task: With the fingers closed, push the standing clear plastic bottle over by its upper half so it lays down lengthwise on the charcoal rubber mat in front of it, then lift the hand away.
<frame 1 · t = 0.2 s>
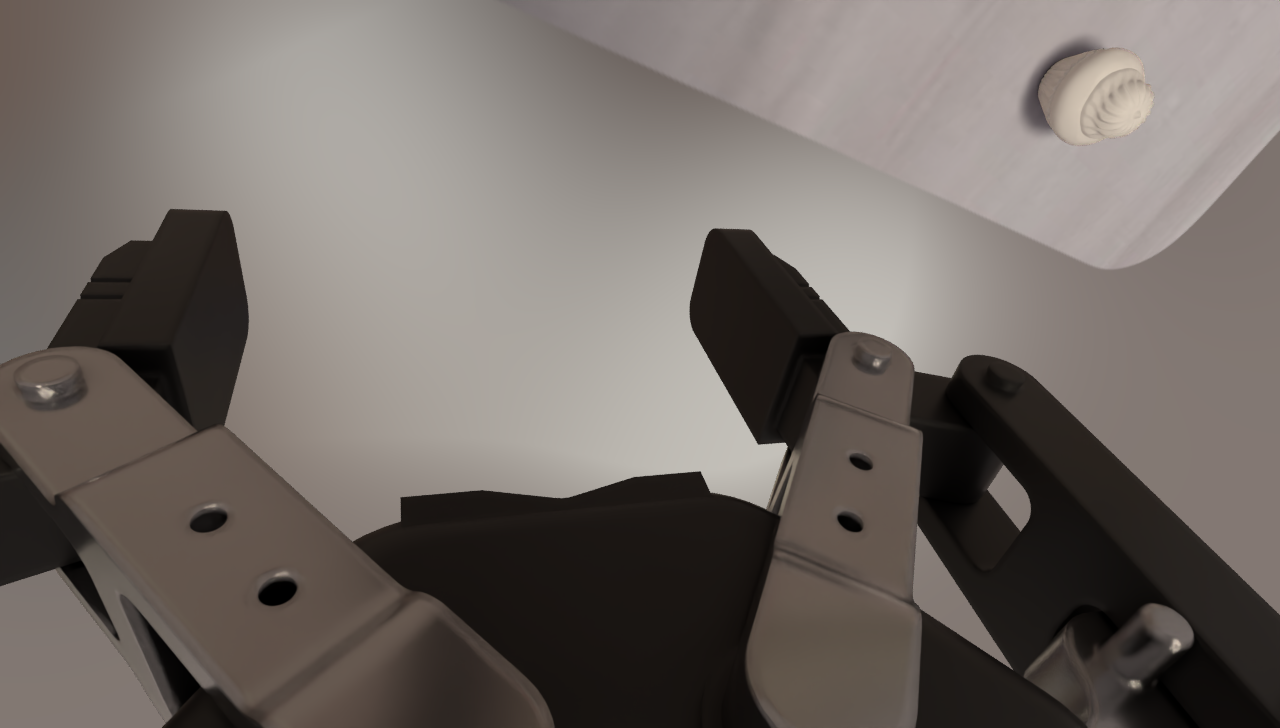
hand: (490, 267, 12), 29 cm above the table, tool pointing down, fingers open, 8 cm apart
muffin: (1056, 81, 48), on the table
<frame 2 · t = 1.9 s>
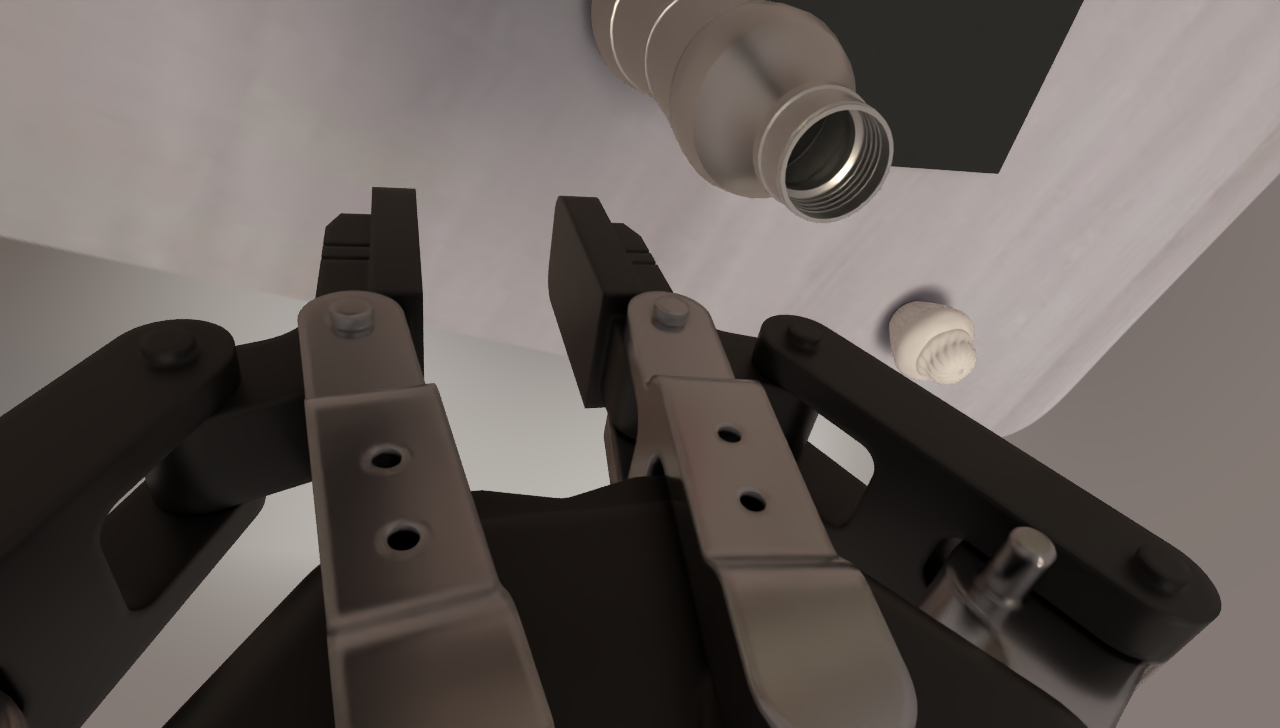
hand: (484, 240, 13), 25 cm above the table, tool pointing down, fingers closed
plastic bottle: (644, 8, 35), on the table
rubber mat: (900, 44, 40), on the table
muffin: (906, 316, 54), on the table
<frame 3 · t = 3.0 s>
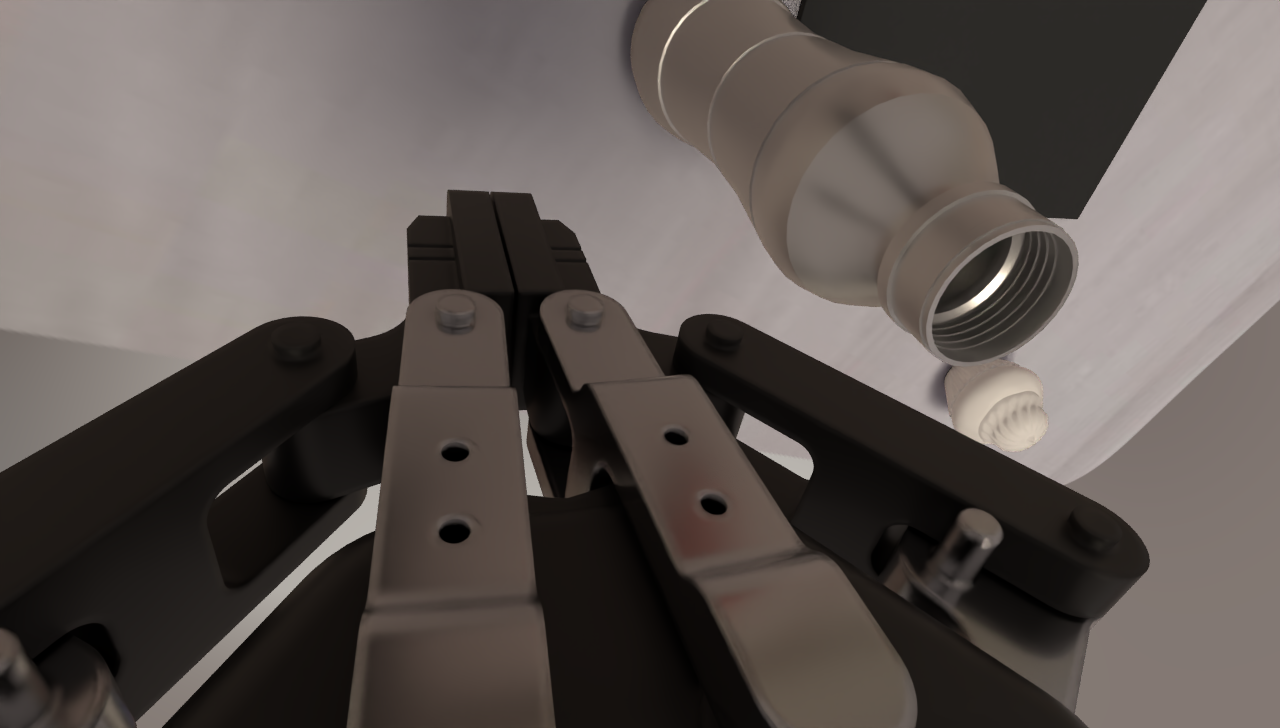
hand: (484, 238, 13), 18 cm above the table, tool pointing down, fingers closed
plastic bottle: (691, 42, 30), on the table
rubber mat: (982, 79, 35), on the table
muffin: (963, 370, 49), on the table
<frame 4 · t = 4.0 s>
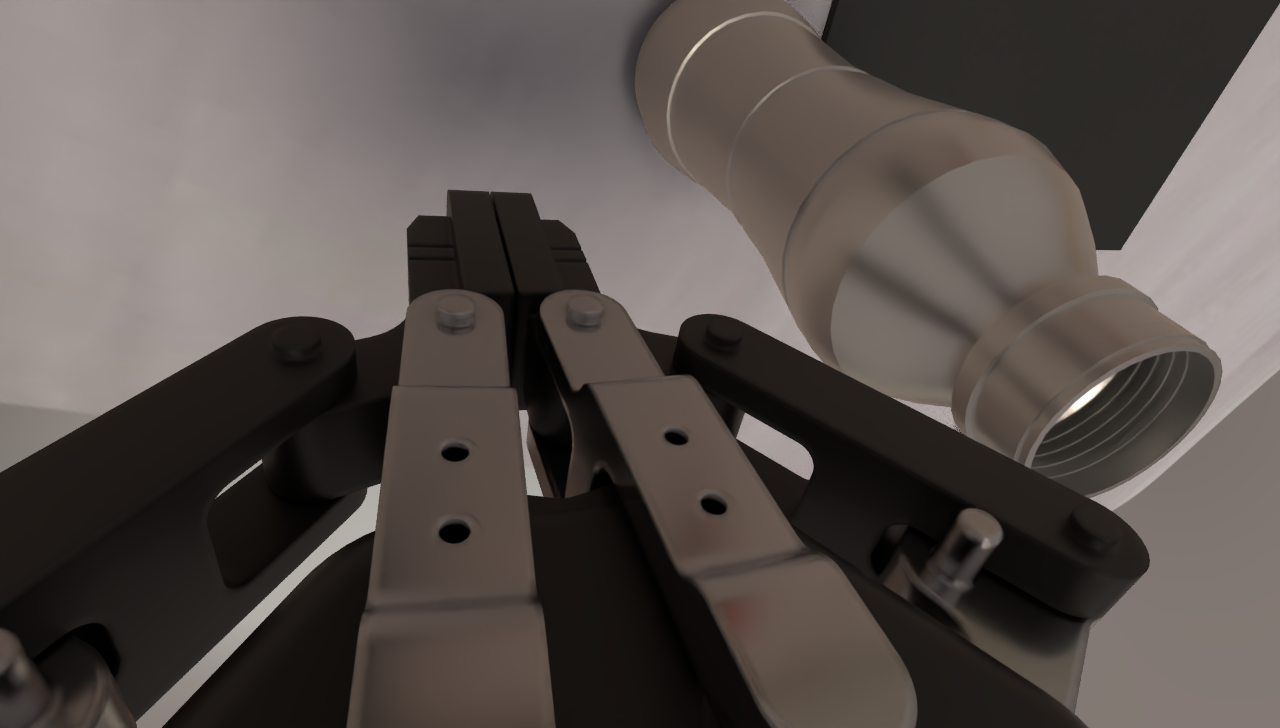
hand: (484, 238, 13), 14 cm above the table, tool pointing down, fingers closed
plastic bottle: (703, 67, 26), on the table
rubber mat: (1023, 103, 31), on the table
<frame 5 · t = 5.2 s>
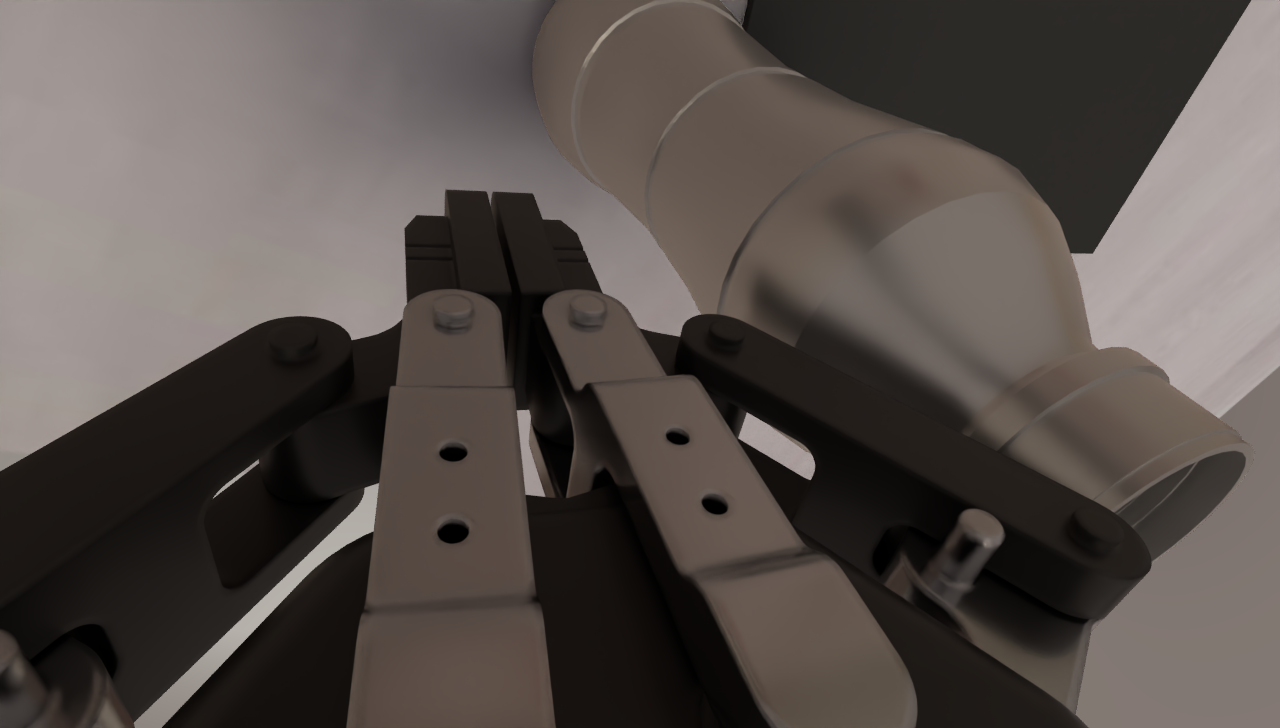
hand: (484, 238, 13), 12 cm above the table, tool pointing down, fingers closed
plastic bottle: (610, 57, 23), on the table, touching hand
rubber mat: (978, 94, 28), on the table
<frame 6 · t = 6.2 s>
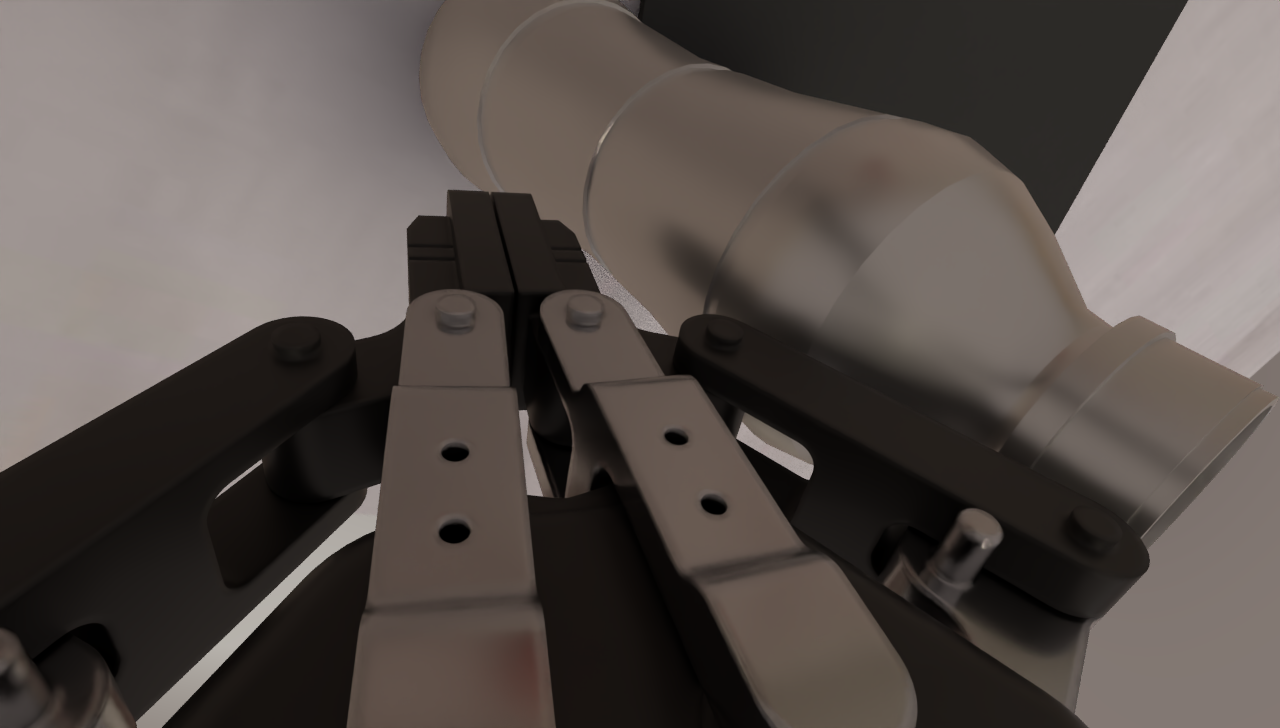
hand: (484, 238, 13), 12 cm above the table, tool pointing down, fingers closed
plastic bottle: (499, 68, 22), point 1 cm above the table
rubber mat: (900, 101, 27), on the table
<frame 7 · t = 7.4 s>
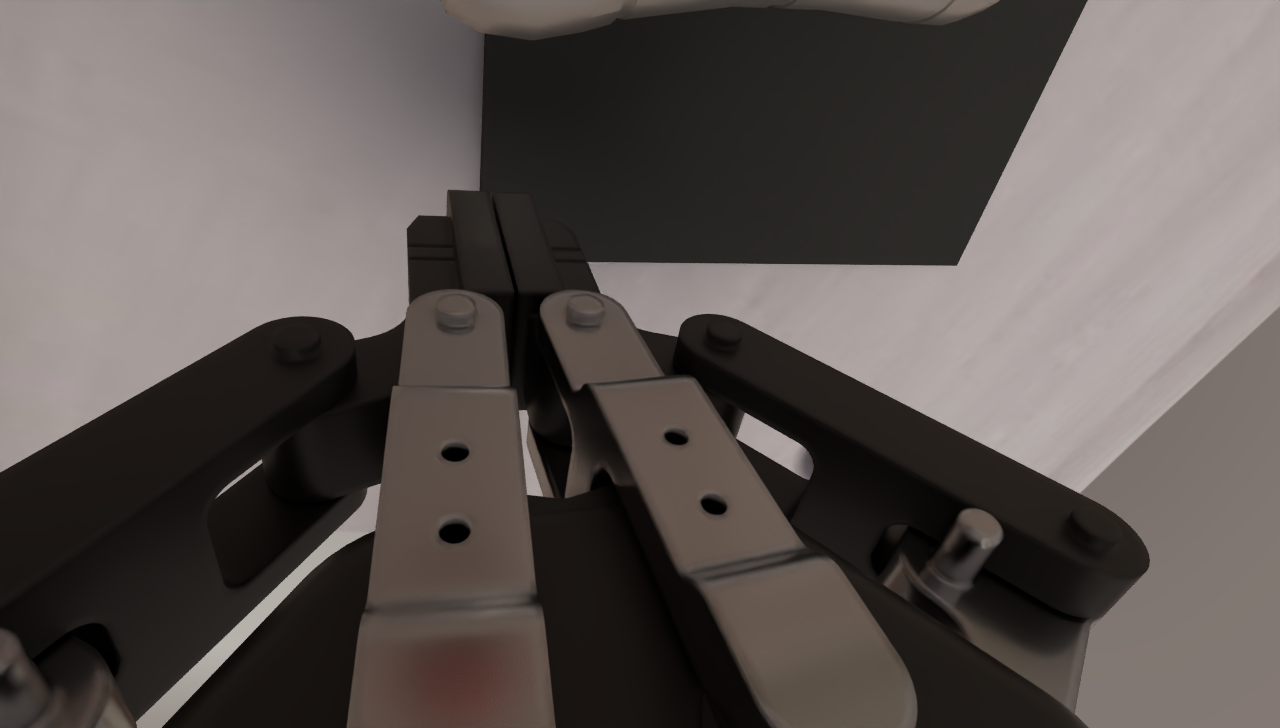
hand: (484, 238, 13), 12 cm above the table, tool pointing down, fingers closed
rubber mat: (790, 90, 25), on the table
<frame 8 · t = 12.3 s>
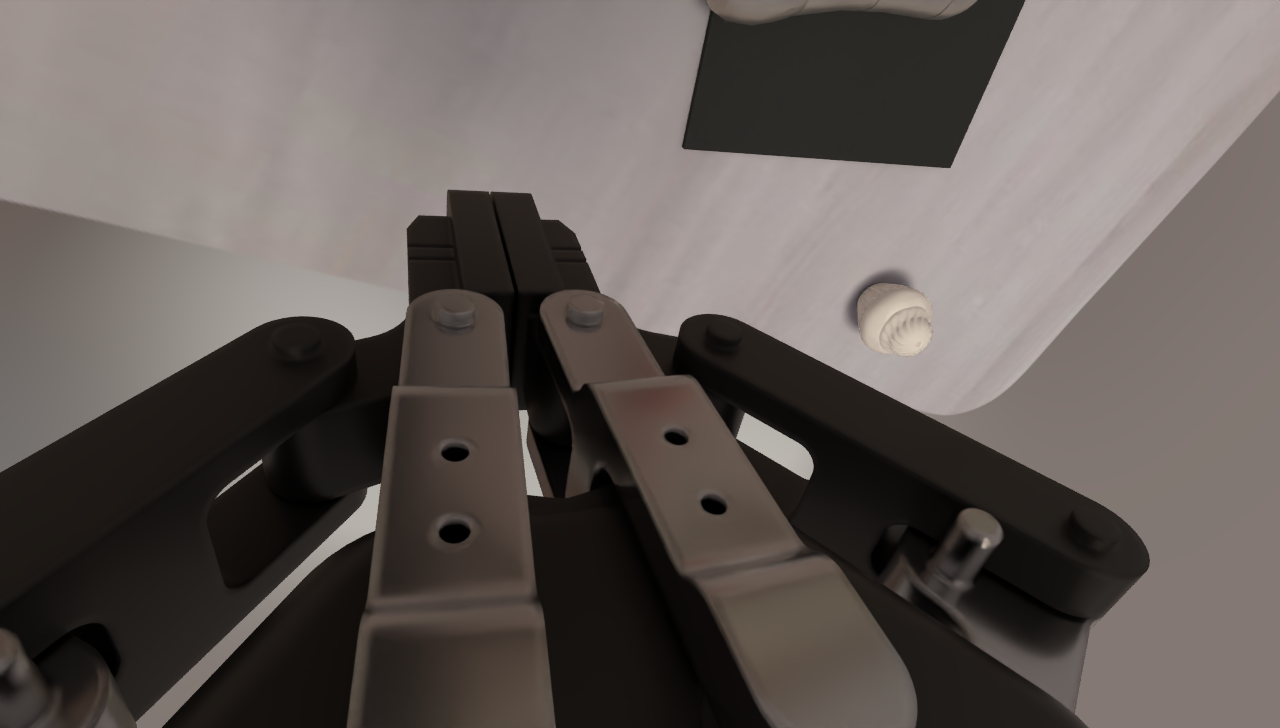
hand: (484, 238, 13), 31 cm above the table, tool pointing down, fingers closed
rubber mat: (857, 55, 46), on the table
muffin: (872, 297, 60), on the table
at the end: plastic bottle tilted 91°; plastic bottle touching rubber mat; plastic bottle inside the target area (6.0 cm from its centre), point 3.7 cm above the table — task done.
